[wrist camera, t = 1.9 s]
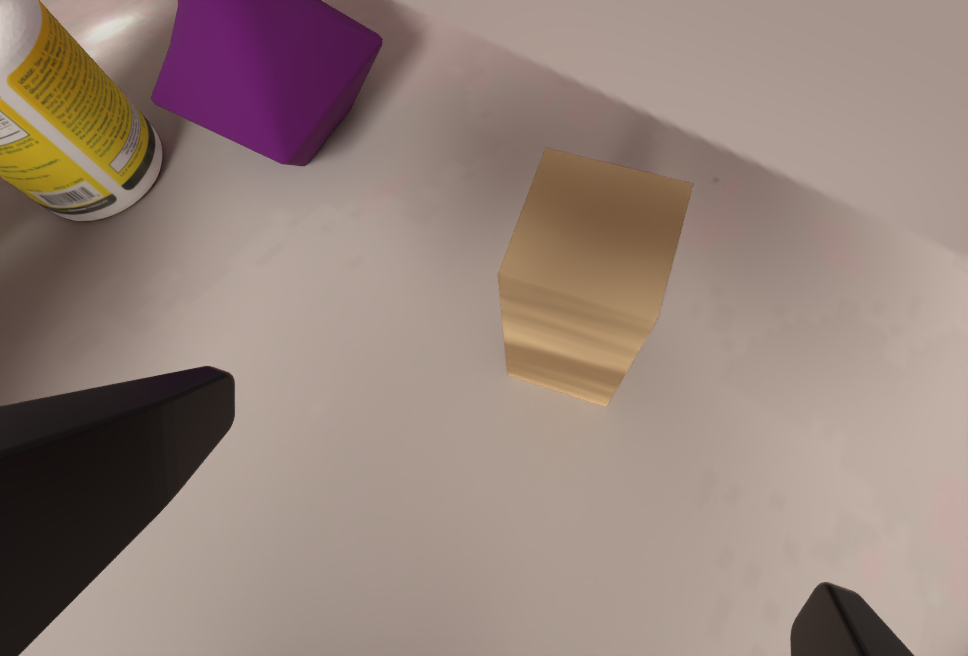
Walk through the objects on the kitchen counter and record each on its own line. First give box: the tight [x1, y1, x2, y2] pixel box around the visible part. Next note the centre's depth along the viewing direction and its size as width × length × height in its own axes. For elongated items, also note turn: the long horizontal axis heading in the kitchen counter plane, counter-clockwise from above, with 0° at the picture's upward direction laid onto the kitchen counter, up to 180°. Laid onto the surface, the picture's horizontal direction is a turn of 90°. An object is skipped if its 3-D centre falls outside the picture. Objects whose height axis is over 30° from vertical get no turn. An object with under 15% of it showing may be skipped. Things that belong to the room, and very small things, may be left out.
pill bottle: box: [0, 0, 162, 221], centre depth 22 cm, size 6×6×11 cm
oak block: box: [498, 148, 693, 406], centre depth 19 cm, size 4×4×9 cm
